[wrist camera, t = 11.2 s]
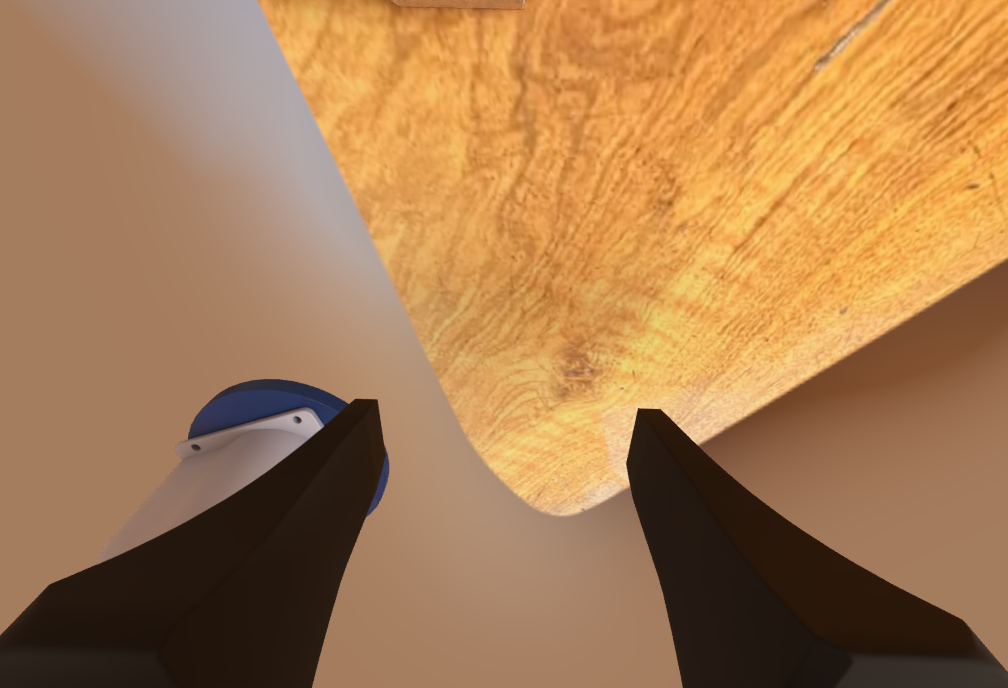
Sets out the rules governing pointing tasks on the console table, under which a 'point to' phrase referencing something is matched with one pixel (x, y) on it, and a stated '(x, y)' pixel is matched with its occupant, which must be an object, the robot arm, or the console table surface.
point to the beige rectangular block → (463, 3)
